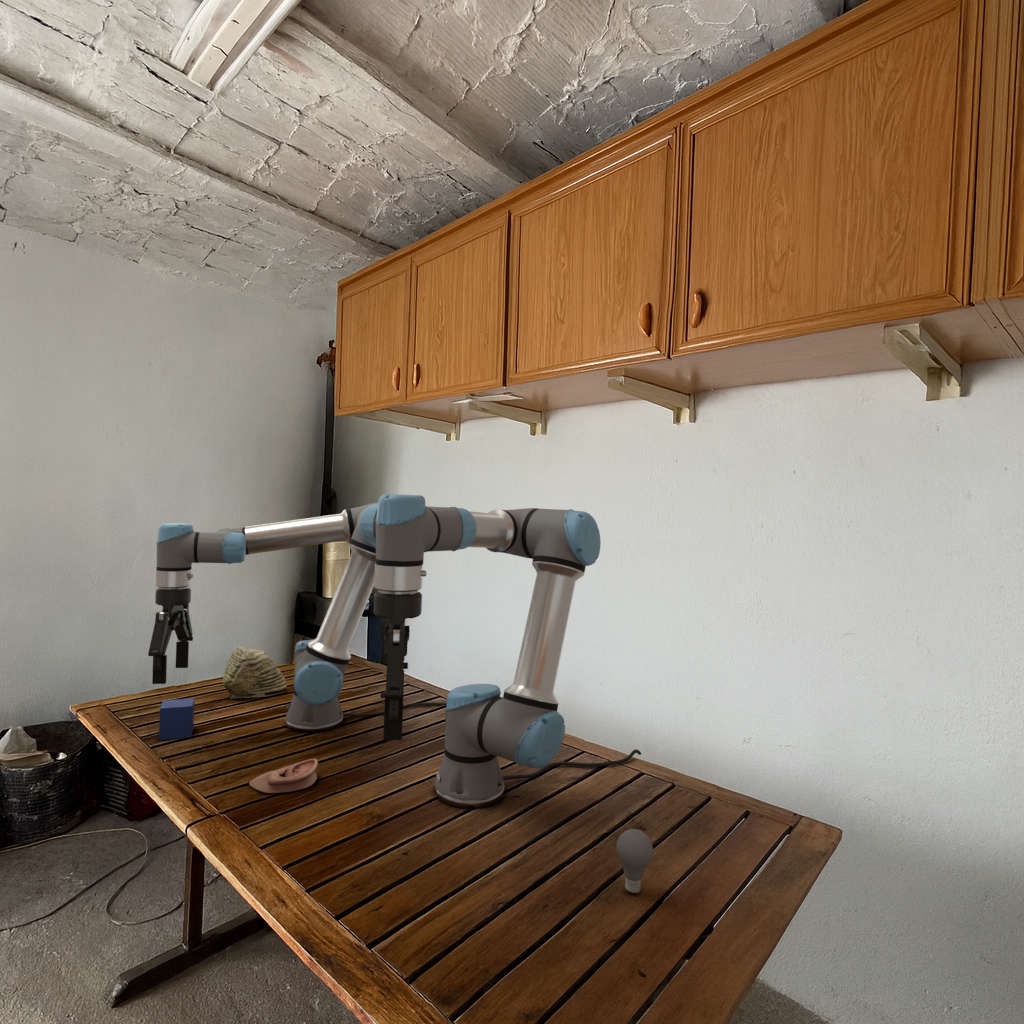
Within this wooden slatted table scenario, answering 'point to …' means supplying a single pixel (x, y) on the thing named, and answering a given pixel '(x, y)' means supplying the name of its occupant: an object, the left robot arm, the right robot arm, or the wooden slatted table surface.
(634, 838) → the light bulb
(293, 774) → the anatomical model
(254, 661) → the fossil
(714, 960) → the wooden slatted table surface
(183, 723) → the block
